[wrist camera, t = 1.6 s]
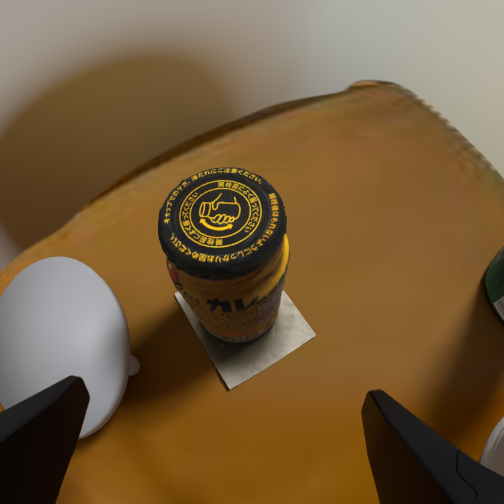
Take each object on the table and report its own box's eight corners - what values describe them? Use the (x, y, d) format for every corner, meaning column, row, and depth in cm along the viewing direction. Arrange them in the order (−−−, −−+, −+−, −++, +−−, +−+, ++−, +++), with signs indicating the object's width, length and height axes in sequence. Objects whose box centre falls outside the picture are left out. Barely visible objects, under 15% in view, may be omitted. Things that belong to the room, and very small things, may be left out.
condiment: (253, 250, 24) (249, 133, 13) (315, 335, 21) (373, 266, 10) (175, 294, 22) (108, 201, 12) (230, 389, 19) (193, 383, 8)
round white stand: (70, 465, 15) (37, 472, 11) (4, 340, 20) (-26, 326, 16) (183, 370, 20) (164, 363, 16) (91, 250, 24) (68, 224, 20)
